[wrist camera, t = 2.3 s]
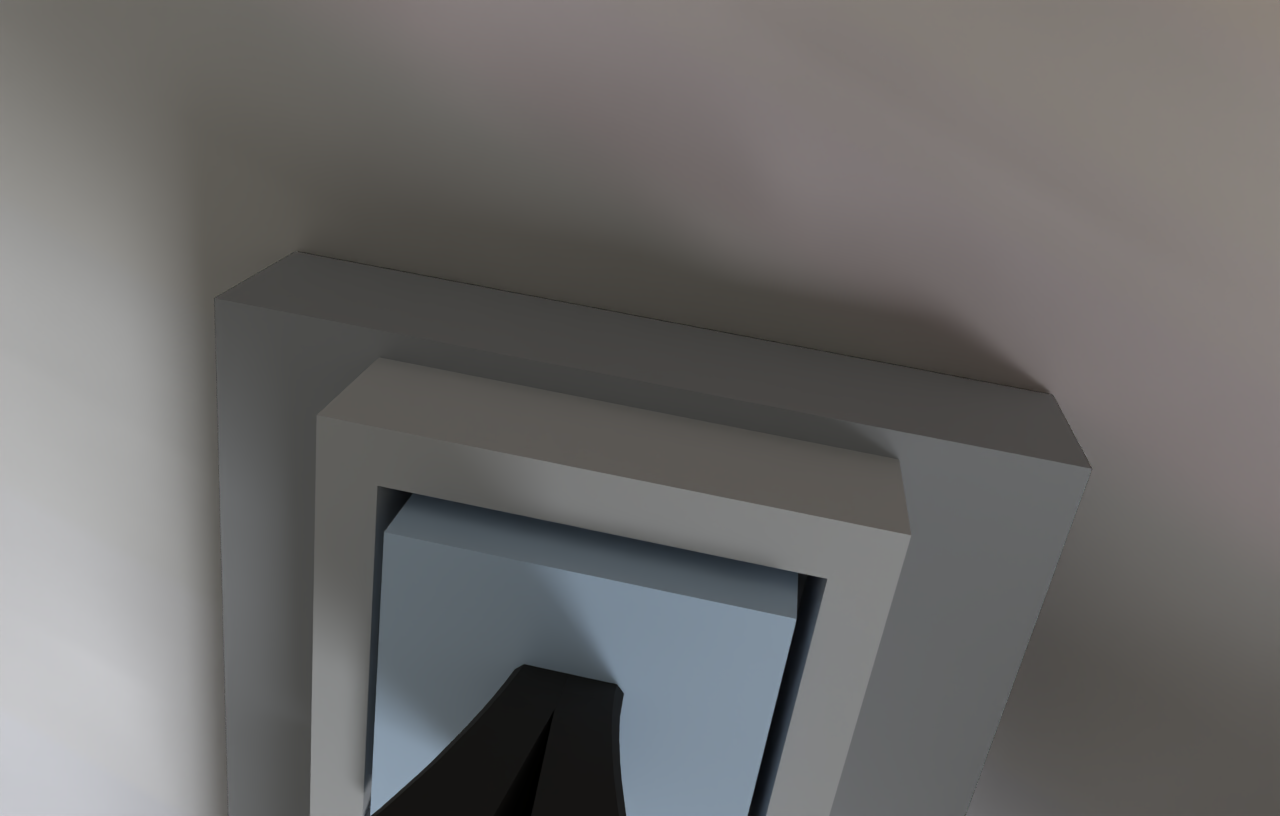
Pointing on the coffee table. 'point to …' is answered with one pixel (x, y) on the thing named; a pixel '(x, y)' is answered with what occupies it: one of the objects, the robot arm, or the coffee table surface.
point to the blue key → (580, 646)
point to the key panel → (626, 516)
